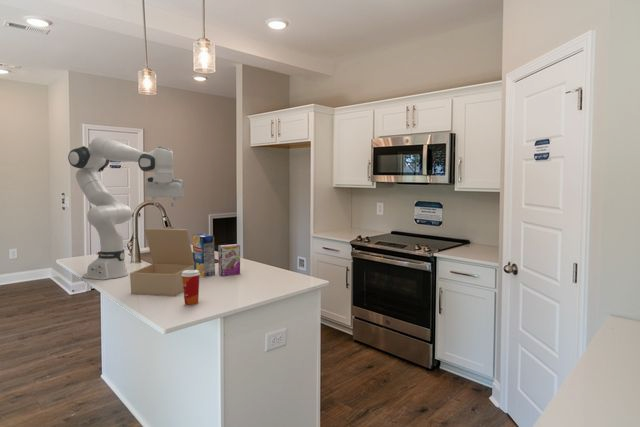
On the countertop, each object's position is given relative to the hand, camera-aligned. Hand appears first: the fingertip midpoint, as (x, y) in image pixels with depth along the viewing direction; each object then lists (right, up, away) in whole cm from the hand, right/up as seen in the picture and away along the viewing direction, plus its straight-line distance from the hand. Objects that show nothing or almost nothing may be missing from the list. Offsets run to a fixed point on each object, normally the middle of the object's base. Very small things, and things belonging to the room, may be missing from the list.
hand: (164, 206), depth 214 cm
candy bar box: (+30, -38, +18) cm, 51 cm away
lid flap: (+5, -21, -7) cm, 22 cm away
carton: (+4, -41, -12) cm, 42 cm away
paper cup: (+24, -43, -34) cm, 60 cm away
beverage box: (+15, -38, +18) cm, 44 cm away
